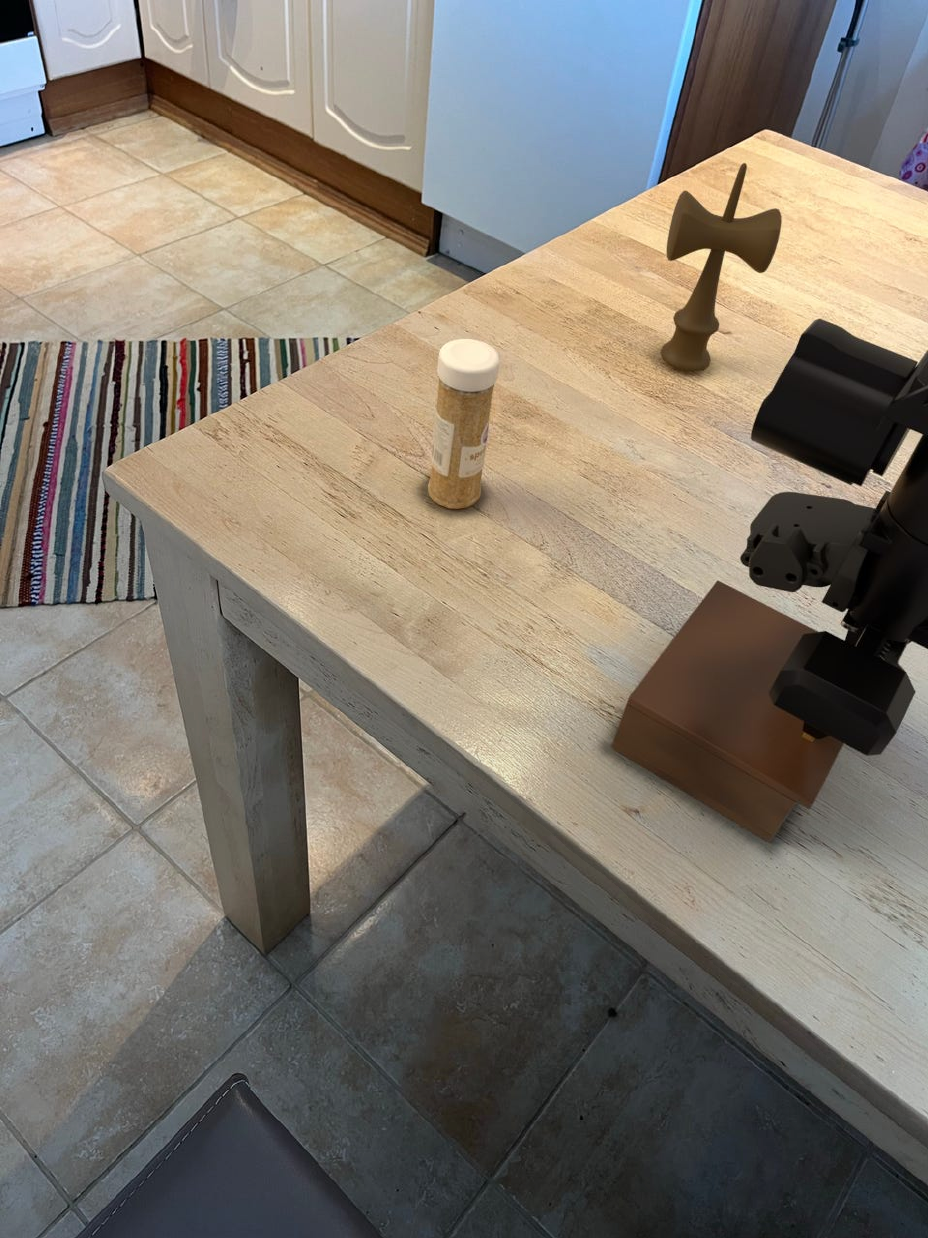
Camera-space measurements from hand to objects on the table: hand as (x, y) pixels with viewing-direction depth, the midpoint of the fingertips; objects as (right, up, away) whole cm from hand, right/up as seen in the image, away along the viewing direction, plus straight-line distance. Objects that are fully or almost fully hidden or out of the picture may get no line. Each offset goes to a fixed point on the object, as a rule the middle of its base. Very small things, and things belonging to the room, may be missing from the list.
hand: (827, 704), depth 59 cm
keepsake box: (-4, -2, +6) cm, 8 cm away
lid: (-4, +1, +3) cm, 5 cm away
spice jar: (-24, +16, +20) cm, 35 cm away
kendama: (0, +32, +38) cm, 49 cm away
